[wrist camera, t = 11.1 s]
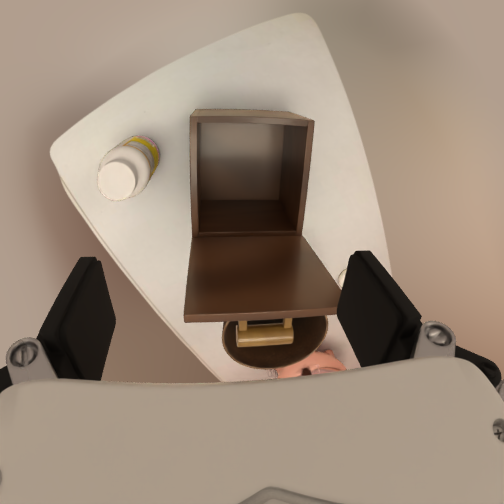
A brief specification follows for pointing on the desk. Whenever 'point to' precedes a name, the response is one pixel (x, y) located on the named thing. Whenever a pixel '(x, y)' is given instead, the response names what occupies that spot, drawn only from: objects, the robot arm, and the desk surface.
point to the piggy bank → (312, 365)
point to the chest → (248, 172)
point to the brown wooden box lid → (257, 285)
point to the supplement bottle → (127, 168)
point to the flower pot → (277, 356)
